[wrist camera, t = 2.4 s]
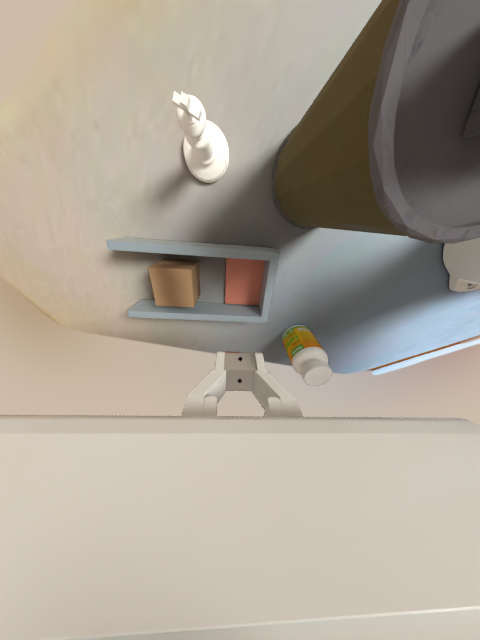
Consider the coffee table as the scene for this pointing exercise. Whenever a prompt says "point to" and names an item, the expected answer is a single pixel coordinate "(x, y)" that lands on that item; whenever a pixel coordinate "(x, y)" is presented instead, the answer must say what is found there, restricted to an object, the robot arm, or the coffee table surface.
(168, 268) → the walnut cube
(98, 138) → the coffee table surface
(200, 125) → the chess piece
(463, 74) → the canister
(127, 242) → the channel
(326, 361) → the supplement bottle
